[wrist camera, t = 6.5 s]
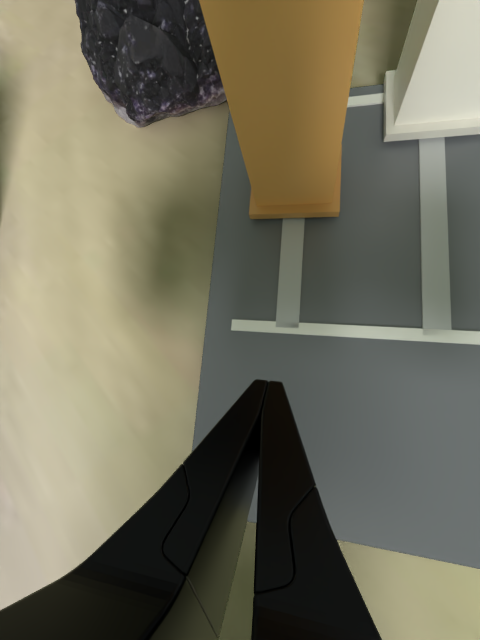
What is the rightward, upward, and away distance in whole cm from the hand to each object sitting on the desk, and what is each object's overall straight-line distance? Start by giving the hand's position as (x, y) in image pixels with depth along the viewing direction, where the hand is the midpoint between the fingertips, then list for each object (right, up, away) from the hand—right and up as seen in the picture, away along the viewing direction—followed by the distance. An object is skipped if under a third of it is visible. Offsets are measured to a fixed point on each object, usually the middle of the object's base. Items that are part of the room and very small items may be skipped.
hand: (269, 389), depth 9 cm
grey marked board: (+5, +4, +7) cm, 10 cm away
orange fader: (+2, +10, +8) cm, 13 cm away
